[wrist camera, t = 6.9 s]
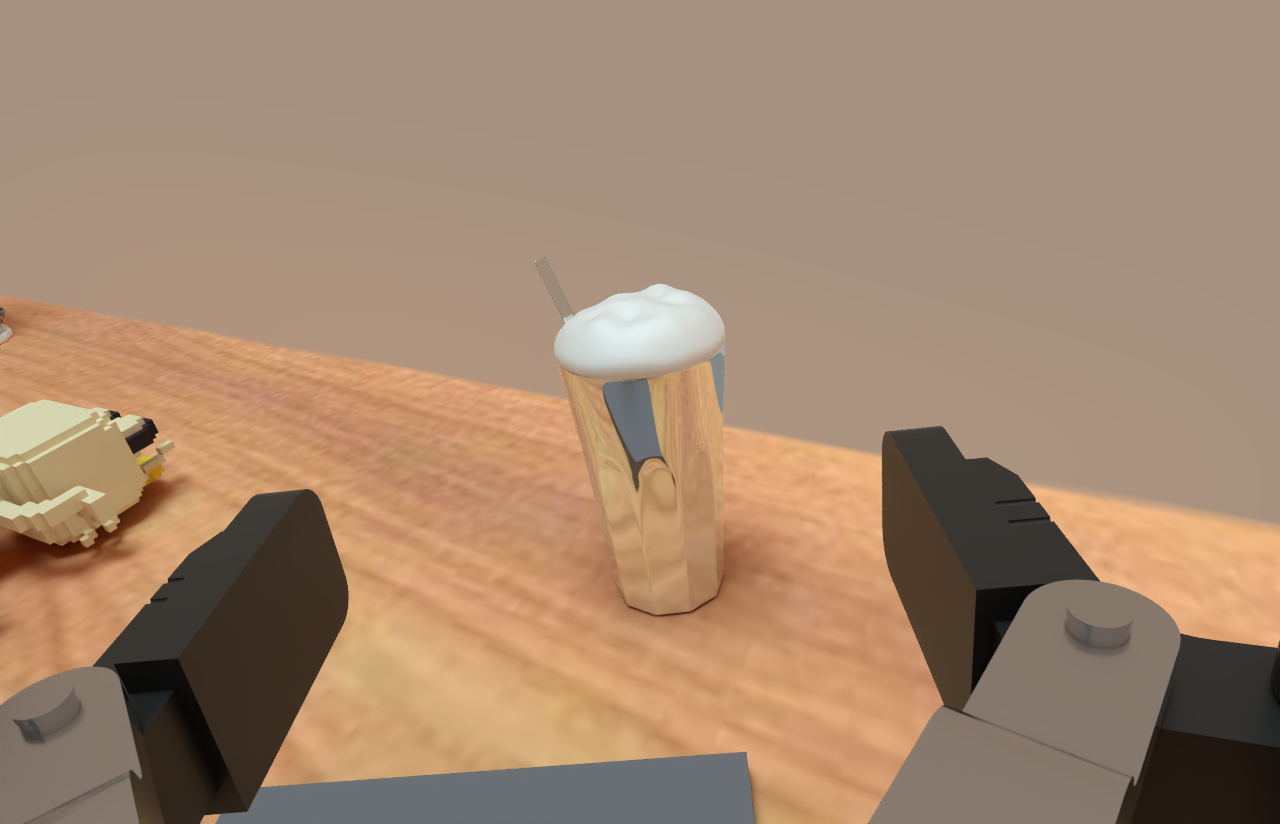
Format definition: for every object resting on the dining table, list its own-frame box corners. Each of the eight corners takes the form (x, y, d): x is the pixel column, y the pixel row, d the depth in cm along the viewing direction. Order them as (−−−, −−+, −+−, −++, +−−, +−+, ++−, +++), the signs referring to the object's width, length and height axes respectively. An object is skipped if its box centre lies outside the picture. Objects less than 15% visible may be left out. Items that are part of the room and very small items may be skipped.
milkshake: (631, 521, 29) (589, 236, 25) (771, 560, 26) (751, 245, 22) (546, 596, 26) (482, 284, 22) (695, 650, 23) (653, 302, 19)
